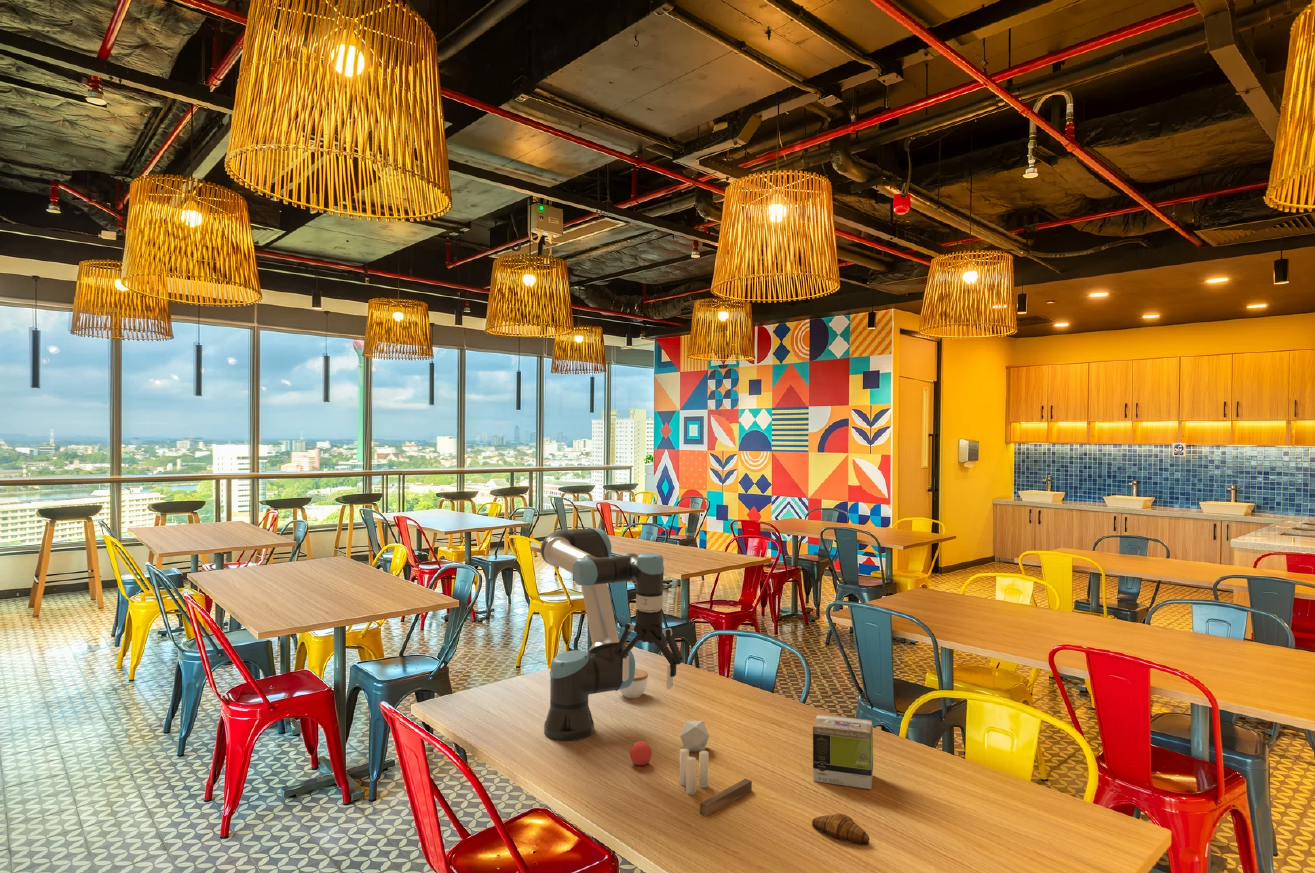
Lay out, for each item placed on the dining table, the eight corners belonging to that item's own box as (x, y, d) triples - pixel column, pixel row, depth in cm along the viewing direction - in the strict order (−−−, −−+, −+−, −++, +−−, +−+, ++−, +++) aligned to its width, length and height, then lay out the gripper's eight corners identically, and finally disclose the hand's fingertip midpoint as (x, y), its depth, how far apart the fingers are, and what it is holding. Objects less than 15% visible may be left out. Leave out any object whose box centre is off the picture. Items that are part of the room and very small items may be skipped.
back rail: (699, 813, 175) (700, 802, 175) (745, 788, 188) (745, 778, 188) (706, 816, 174) (706, 805, 174) (751, 790, 187) (751, 780, 187)
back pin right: (684, 792, 186) (684, 758, 186) (690, 789, 188) (690, 755, 188) (691, 795, 184) (691, 761, 184) (697, 792, 186) (697, 758, 186)
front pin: (677, 783, 191) (677, 750, 191) (683, 780, 193) (684, 747, 193) (684, 786, 189) (684, 753, 189) (690, 783, 191) (690, 750, 191)
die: (699, 760, 206) (716, 729, 209) (673, 743, 208) (691, 712, 211) (697, 759, 214) (714, 729, 217) (672, 742, 215) (689, 712, 218)
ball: (625, 764, 202) (625, 742, 202) (640, 757, 206) (640, 736, 206) (640, 771, 198) (640, 748, 198) (656, 764, 202) (656, 742, 202)
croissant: (874, 839, 165) (875, 817, 165) (863, 852, 159) (863, 829, 159) (818, 820, 173) (818, 799, 173) (806, 832, 168) (806, 810, 168)
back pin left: (697, 785, 190) (697, 752, 190) (703, 782, 191) (703, 749, 191) (704, 788, 188) (704, 755, 188) (710, 785, 190) (710, 752, 190)
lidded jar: (647, 700, 252) (647, 673, 252) (616, 700, 252) (616, 673, 252) (648, 690, 262) (648, 664, 262) (618, 689, 262) (618, 663, 262)
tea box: (873, 774, 197) (873, 719, 197) (871, 791, 188) (871, 733, 188) (816, 765, 202) (816, 712, 202) (811, 781, 192) (812, 725, 193)
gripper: (603, 606, 208) (601, 680, 208) (686, 617, 198) (684, 695, 199) (615, 600, 215) (613, 672, 215) (695, 611, 205) (693, 686, 206)
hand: (647, 683), depth 207 cm, fingers open, 13 cm apart
